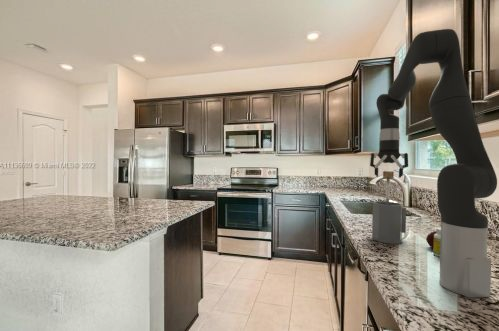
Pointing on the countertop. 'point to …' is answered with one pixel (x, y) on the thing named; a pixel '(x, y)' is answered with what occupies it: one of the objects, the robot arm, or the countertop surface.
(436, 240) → the supplement bottle
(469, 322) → the countertop surface
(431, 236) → the potato
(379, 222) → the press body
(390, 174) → the plunger
